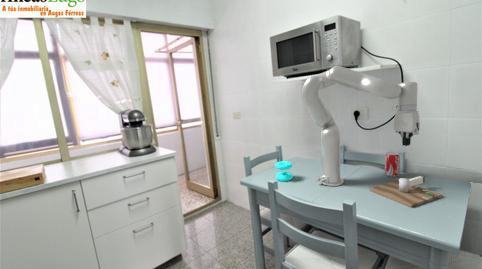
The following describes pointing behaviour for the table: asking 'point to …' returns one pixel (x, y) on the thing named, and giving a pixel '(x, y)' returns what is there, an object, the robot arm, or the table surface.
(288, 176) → the donuts
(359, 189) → the table surface
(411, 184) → the white elongated piece
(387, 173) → the soda can
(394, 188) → the brown wooden cutting board
